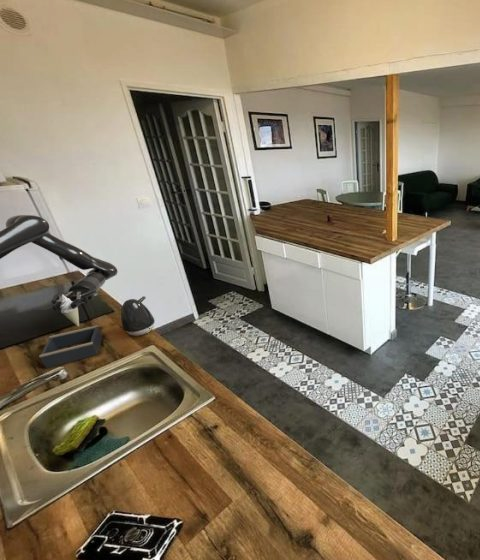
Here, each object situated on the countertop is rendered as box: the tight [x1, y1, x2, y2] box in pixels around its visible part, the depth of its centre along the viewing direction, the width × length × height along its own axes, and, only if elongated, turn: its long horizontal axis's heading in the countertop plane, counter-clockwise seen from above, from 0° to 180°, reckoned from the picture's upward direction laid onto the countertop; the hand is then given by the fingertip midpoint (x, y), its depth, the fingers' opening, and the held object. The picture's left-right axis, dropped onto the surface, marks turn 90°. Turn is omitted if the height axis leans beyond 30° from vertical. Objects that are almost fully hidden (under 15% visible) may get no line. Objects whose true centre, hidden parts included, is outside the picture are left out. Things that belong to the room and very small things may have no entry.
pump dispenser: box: [120, 296, 156, 337], centre depth 124 cm, size 10×10×15 cm
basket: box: [38, 325, 103, 369], centre depth 115 cm, size 14×14×5 cm
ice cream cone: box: [59, 293, 80, 327], centre depth 123 cm, size 5×5×15 cm
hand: (63, 307), depth 119 cm, fingers closed on ice cream cone, 5 cm apart
